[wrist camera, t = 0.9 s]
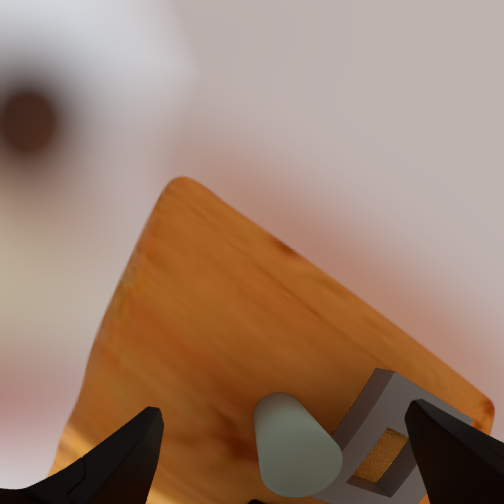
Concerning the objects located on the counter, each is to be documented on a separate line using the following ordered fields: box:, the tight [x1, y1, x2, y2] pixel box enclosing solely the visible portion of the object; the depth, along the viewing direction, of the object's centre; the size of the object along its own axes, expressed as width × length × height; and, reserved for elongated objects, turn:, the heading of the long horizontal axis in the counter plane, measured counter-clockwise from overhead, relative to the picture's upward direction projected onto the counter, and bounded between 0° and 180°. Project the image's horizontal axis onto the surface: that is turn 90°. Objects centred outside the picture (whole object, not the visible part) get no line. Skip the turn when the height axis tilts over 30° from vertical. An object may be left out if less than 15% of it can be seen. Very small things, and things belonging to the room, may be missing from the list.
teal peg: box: [253, 392, 343, 498], centre depth 18 cm, size 5×5×12 cm
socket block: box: [310, 368, 473, 504], centre depth 21 cm, size 14×14×4 cm
